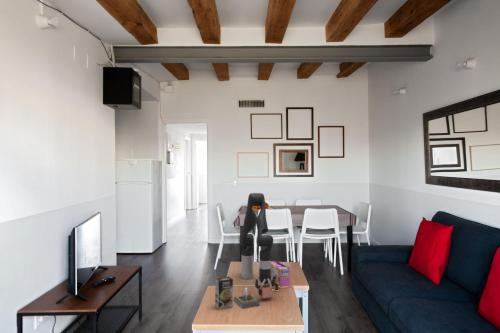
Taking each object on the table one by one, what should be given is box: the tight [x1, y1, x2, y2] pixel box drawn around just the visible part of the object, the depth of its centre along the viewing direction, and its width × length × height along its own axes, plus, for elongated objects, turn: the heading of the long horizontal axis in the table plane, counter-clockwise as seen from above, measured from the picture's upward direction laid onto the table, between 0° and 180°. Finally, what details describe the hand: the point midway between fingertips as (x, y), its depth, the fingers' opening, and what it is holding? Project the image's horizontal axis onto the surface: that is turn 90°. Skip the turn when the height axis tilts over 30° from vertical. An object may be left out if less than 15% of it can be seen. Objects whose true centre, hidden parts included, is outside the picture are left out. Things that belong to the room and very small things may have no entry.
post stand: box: [233, 286, 260, 310], centre depth 183 cm, size 14×11×9 cm
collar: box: [258, 284, 273, 299], centre depth 189 cm, size 6×6×6 cm
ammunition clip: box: [270, 273, 280, 290], centre depth 205 cm, size 11×2×12 cm, turn 74°
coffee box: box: [214, 276, 234, 310], centre depth 178 cm, size 9×6×16 cm
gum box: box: [271, 259, 291, 287], centre depth 220 cm, size 24×8×14 cm, turn 22°
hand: (265, 294), depth 188 cm, fingers closed on collar, 6 cm apart
